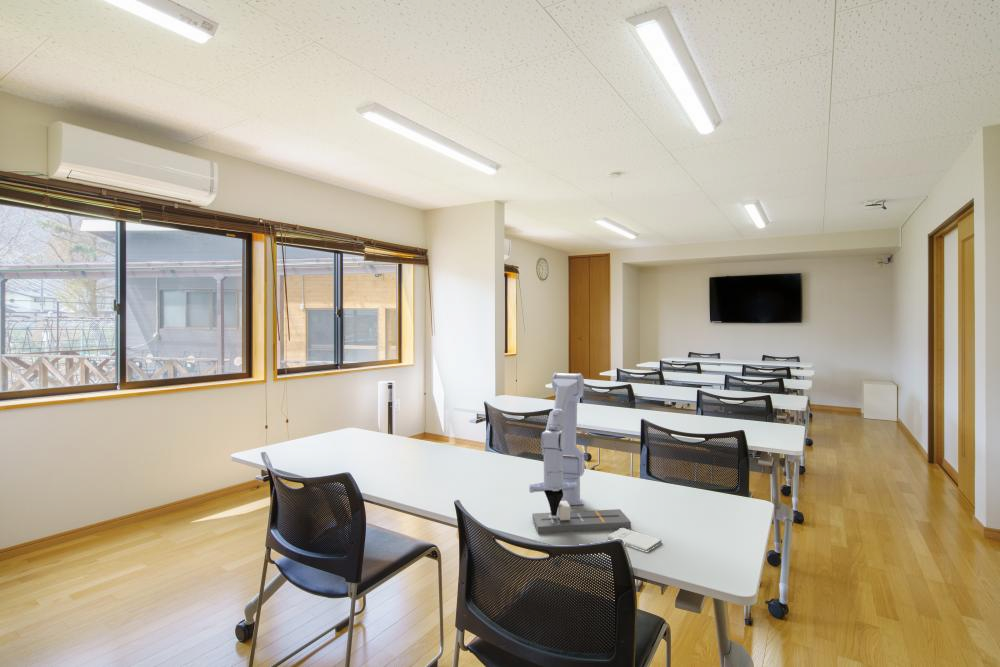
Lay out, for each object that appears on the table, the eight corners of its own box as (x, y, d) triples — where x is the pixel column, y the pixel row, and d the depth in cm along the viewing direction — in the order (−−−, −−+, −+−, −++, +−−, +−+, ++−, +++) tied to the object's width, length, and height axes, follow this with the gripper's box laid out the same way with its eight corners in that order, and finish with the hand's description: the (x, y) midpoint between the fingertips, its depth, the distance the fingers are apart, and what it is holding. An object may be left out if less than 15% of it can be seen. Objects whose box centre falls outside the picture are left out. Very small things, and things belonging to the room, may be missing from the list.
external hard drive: (646, 555, 136) (607, 540, 145) (661, 545, 142) (623, 532, 151) (646, 549, 136) (607, 535, 145) (661, 539, 142) (623, 526, 151)
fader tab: (557, 513, 158) (556, 501, 157) (566, 513, 158) (566, 500, 158) (560, 520, 153) (560, 507, 152) (570, 519, 153) (570, 506, 153)
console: (532, 519, 159) (532, 513, 159) (619, 515, 162) (619, 508, 162) (537, 533, 149) (537, 526, 149) (630, 528, 152) (630, 521, 152)
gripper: (531, 475, 150) (532, 520, 150) (580, 473, 151) (580, 518, 152) (528, 467, 157) (528, 511, 157) (574, 466, 158) (574, 509, 159)
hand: (553, 514), depth 155 cm, fingers closed
